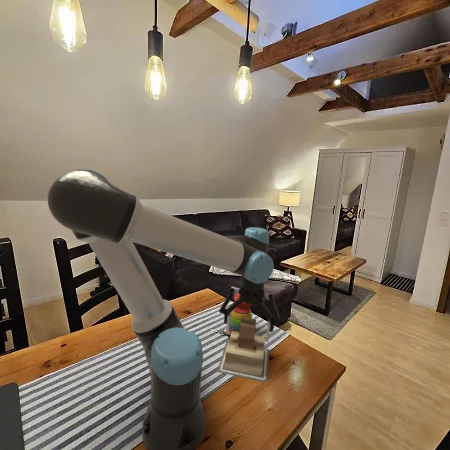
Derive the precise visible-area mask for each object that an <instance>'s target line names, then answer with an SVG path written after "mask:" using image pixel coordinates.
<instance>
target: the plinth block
mask: <svg viewBox="0 0 450 450" xmlns="http://www.w3.org/2000/svg"><path fill="white" fill-rule="evenodd" d="M228 341H229V343H228V346H227V349H226V354H225V366H224V369H229V370H234V371H238V372H243V373H248V374H252V375H257V376H262V367H263V358H264V348H265V343H266V336H262V335H257V334H255V338H254V346H253V350H251V349H245V348H240V347H238V341H239V332H236V331H232V333H231V336H230V335H229V339H228Z"/></svg>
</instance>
